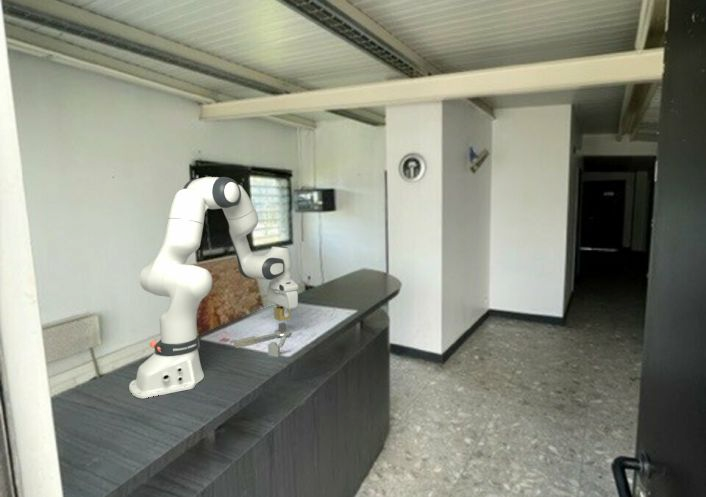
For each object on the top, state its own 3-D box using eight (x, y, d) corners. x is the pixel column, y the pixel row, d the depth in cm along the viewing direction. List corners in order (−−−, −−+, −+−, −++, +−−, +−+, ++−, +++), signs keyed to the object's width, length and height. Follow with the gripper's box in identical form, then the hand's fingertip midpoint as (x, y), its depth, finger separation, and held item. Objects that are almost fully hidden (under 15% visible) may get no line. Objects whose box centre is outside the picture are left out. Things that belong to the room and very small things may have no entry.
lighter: (268, 355, 164) (267, 335, 163) (270, 354, 165) (269, 334, 164) (285, 357, 162) (284, 337, 161) (287, 356, 164) (286, 335, 162)
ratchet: (239, 349, 170) (238, 336, 170) (232, 344, 176) (231, 331, 175) (293, 336, 186) (293, 323, 185) (285, 332, 191) (285, 320, 191)
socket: (280, 321, 182) (279, 309, 181) (274, 318, 186) (274, 307, 185) (290, 318, 185) (290, 307, 184) (284, 316, 189) (284, 305, 188)
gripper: (263, 280, 189) (264, 311, 191) (286, 288, 174) (287, 321, 175) (276, 278, 193) (276, 308, 195) (300, 286, 178) (300, 318, 179)
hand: (282, 314), depth 185 cm, fingers closed on socket, 5 cm apart
